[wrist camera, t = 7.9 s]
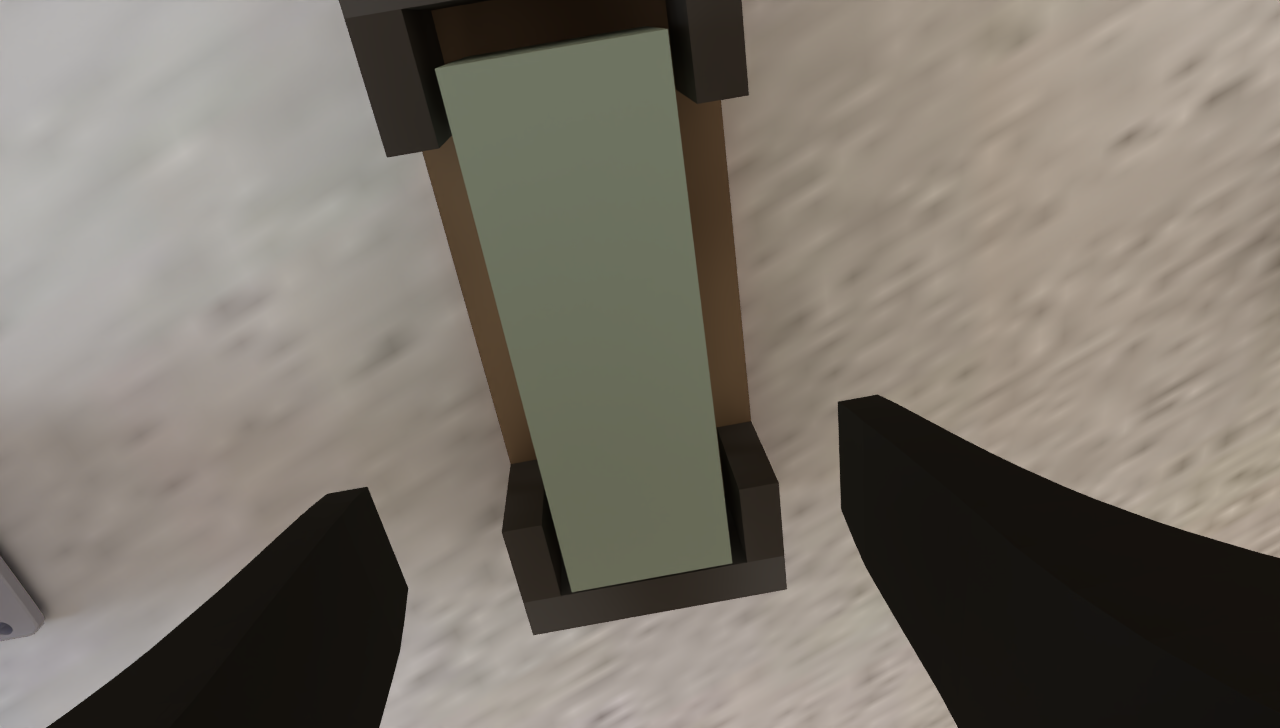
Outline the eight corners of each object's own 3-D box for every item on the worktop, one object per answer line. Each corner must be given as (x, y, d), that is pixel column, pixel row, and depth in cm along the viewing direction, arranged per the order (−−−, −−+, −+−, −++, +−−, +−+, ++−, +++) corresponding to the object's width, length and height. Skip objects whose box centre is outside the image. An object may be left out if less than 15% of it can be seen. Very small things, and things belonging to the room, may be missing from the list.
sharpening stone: (571, 493, 21) (571, 592, 17) (465, 57, 16) (434, 68, 12) (704, 469, 21) (732, 563, 17) (644, 26, 16) (667, 28, 12)
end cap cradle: (539, 537, 23) (533, 635, 19) (377, -43, 15) (320, -61, 12) (752, 499, 23) (786, 588, 19) (693, -96, 16) (731, -130, 12)
